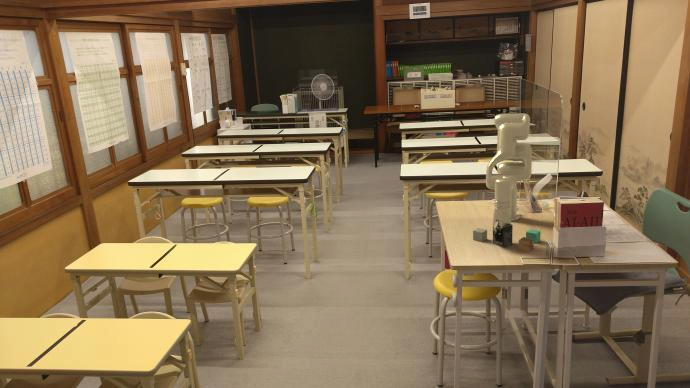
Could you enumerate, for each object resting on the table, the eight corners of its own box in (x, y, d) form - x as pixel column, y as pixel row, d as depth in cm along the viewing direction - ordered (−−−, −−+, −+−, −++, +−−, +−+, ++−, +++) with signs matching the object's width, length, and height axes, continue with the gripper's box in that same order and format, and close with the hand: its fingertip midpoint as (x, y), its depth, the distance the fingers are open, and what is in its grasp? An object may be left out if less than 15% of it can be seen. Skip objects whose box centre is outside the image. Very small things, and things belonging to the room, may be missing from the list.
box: (512, 245, 256) (512, 224, 253) (503, 247, 253) (503, 227, 251) (501, 240, 263) (501, 220, 260) (492, 243, 260) (492, 222, 257)
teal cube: (530, 238, 263) (530, 229, 262) (540, 240, 260) (540, 230, 258) (525, 241, 259) (526, 231, 258) (535, 243, 256) (536, 233, 255)
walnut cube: (523, 246, 253) (523, 237, 252) (533, 249, 250) (533, 239, 249) (518, 250, 250) (518, 240, 249) (528, 252, 246) (528, 242, 245)
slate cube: (478, 237, 269) (478, 227, 268) (487, 239, 266) (487, 229, 265) (473, 240, 266) (473, 230, 265) (482, 242, 263) (482, 232, 261)
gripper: (504, 198, 261) (503, 232, 266) (486, 207, 249) (486, 242, 254) (518, 200, 256) (517, 235, 261) (501, 209, 244) (501, 246, 249)
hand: (502, 238), depth 257 cm, fingers closed on box, 7 cm apart
